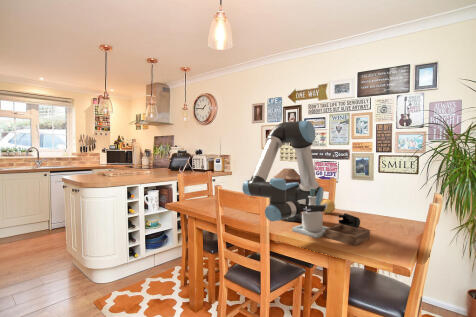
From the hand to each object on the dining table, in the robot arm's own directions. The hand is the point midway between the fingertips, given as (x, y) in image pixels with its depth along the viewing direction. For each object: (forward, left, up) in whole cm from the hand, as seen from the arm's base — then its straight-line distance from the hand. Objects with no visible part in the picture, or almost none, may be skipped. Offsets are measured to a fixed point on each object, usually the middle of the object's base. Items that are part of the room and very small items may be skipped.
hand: (315, 203), depth 138 cm
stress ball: (-17, +41, -15) cm, 47 cm away
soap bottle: (0, -3, -14) cm, 15 cm away
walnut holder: (+17, +2, -15) cm, 23 cm away
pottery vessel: (-52, +41, -15) cm, 68 cm away
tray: (0, -3, -15) cm, 15 cm away
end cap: (+8, +22, -15) cm, 28 cm away
